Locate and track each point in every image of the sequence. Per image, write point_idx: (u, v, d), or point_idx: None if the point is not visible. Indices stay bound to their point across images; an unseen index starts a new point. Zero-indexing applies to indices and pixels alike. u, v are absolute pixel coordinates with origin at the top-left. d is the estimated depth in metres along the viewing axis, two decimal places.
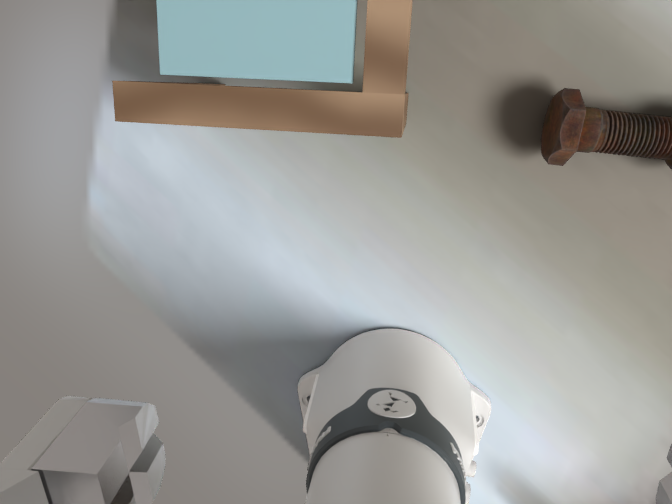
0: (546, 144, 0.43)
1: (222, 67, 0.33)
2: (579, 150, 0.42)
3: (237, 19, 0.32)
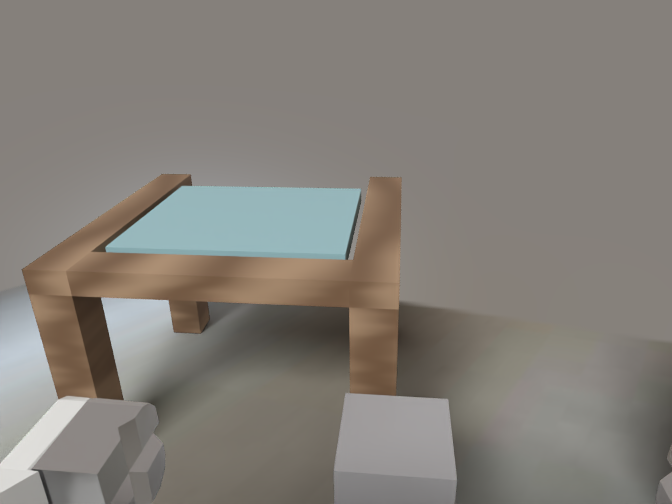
0: None
1: (168, 202, 0.39)
2: None
3: (201, 208, 0.37)
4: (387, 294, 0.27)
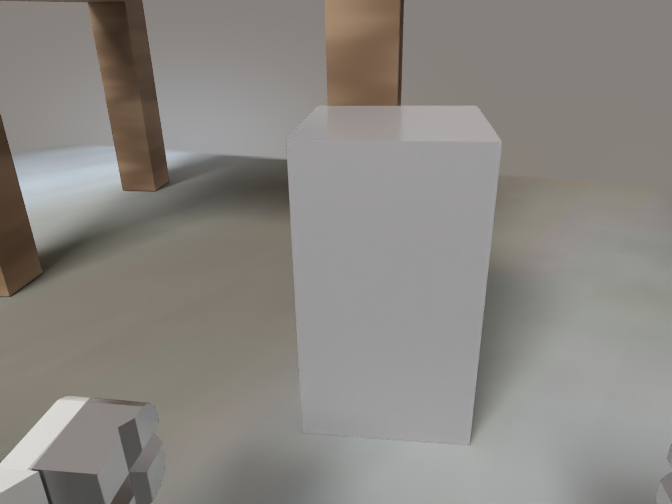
0: None
1: None
2: None
3: None
4: None
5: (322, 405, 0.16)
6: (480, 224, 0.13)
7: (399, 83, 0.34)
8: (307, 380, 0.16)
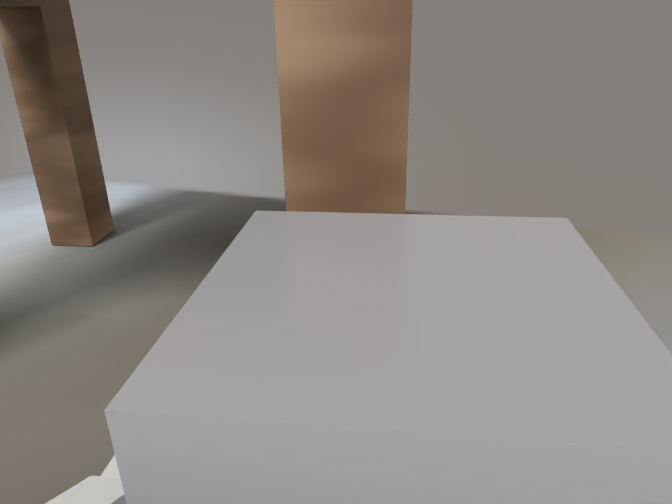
0: None
1: None
2: None
3: None
4: None
5: None
6: None
7: None
8: None
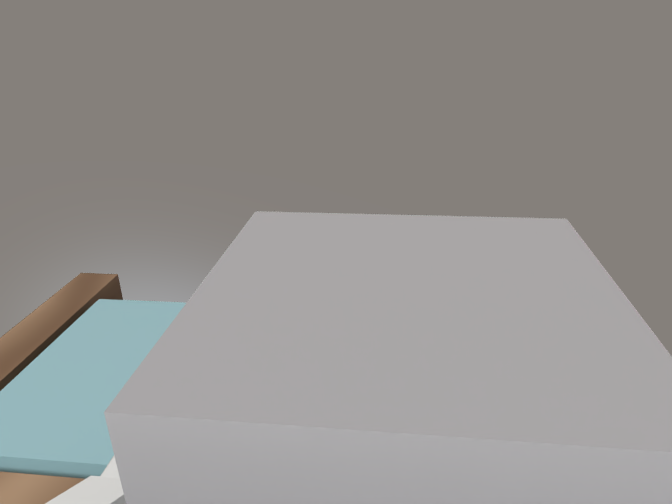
0: None
1: (69, 337, 0.28)
2: None
3: (109, 351, 0.27)
4: None
5: None
6: None
7: None
8: None
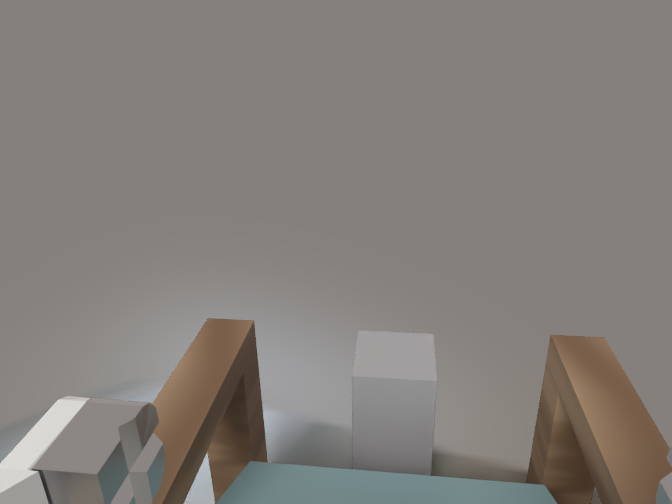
0: None
1: (237, 494, 0.23)
2: None
3: None
4: None
5: None
6: None
7: None
8: None
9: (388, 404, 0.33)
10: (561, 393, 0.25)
